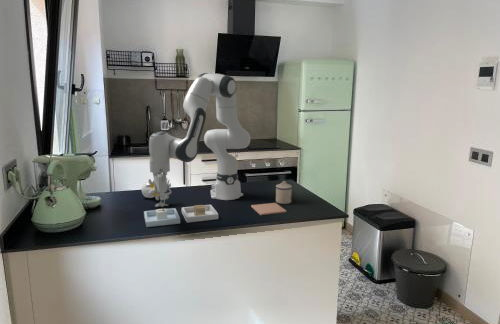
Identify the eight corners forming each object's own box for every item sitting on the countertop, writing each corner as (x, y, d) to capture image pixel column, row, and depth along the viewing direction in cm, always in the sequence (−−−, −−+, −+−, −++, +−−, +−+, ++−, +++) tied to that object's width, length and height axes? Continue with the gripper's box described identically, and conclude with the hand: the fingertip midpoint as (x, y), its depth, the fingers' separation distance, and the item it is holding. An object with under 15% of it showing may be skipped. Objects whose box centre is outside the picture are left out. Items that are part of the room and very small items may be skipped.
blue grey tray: (144, 217, 178) (144, 211, 177) (175, 213, 183) (175, 208, 182) (146, 228, 164) (146, 222, 164) (180, 224, 169) (180, 218, 169)
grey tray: (181, 213, 184) (181, 207, 183) (211, 210, 189) (210, 204, 188) (186, 223, 170) (186, 217, 170) (218, 220, 175) (218, 214, 174)
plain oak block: (194, 214, 181) (193, 205, 180) (203, 213, 182) (202, 204, 181) (195, 217, 177) (195, 208, 176) (205, 216, 178) (205, 207, 177)
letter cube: (156, 218, 175) (156, 209, 174) (166, 217, 176) (165, 208, 175) (157, 221, 171) (157, 212, 170) (167, 220, 172) (166, 211, 171)
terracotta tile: (251, 206, 195) (251, 205, 195) (275, 204, 200) (275, 202, 199) (260, 215, 182) (260, 213, 182) (286, 212, 187) (286, 210, 187)
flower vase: (143, 210, 209) (157, 211, 188) (133, 179, 207) (145, 176, 186) (164, 202, 216) (180, 202, 195) (154, 172, 214) (169, 169, 193)
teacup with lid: (294, 203, 201) (294, 182, 198) (278, 204, 198) (279, 184, 196) (286, 197, 212) (286, 177, 210) (271, 198, 210) (271, 178, 207)
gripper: (170, 171, 160) (171, 202, 162) (164, 163, 178) (165, 190, 181) (155, 172, 157) (156, 203, 160) (150, 164, 176) (151, 192, 179)
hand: (160, 196), depth 171 cm, fingers open, 8 cm apart
